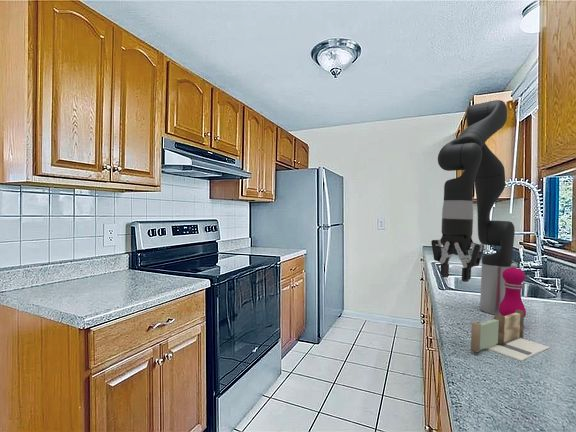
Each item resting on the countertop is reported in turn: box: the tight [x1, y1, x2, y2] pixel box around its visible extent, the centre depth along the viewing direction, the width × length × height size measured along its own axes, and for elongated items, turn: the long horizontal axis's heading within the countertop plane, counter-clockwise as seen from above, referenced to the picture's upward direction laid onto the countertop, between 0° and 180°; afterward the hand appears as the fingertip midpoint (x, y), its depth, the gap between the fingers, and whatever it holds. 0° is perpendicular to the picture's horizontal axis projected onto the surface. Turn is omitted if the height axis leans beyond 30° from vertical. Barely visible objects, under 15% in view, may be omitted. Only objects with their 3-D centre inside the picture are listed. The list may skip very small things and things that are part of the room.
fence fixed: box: [493, 310, 525, 345], centre depth 91 cm, size 14×2×8 cm, turn 122°
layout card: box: [485, 337, 550, 362], centre depth 87 cm, size 16×12×1 cm
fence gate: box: [470, 318, 499, 353], centre depth 84 cm, size 11×2×7 cm, turn 122°
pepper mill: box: [499, 262, 527, 328], centre depth 104 cm, size 7×7×20 cm
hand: (454, 279), depth 89 cm, fingers open, 5 cm apart
